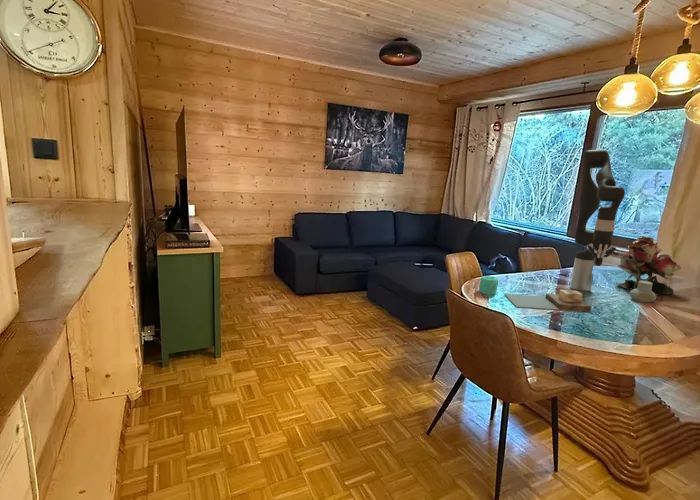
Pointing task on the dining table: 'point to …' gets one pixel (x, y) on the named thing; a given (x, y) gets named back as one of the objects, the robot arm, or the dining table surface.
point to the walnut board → (567, 303)
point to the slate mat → (531, 302)
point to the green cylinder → (488, 285)
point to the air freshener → (643, 292)
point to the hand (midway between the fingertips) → (597, 265)
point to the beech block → (570, 295)
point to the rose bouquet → (647, 265)
